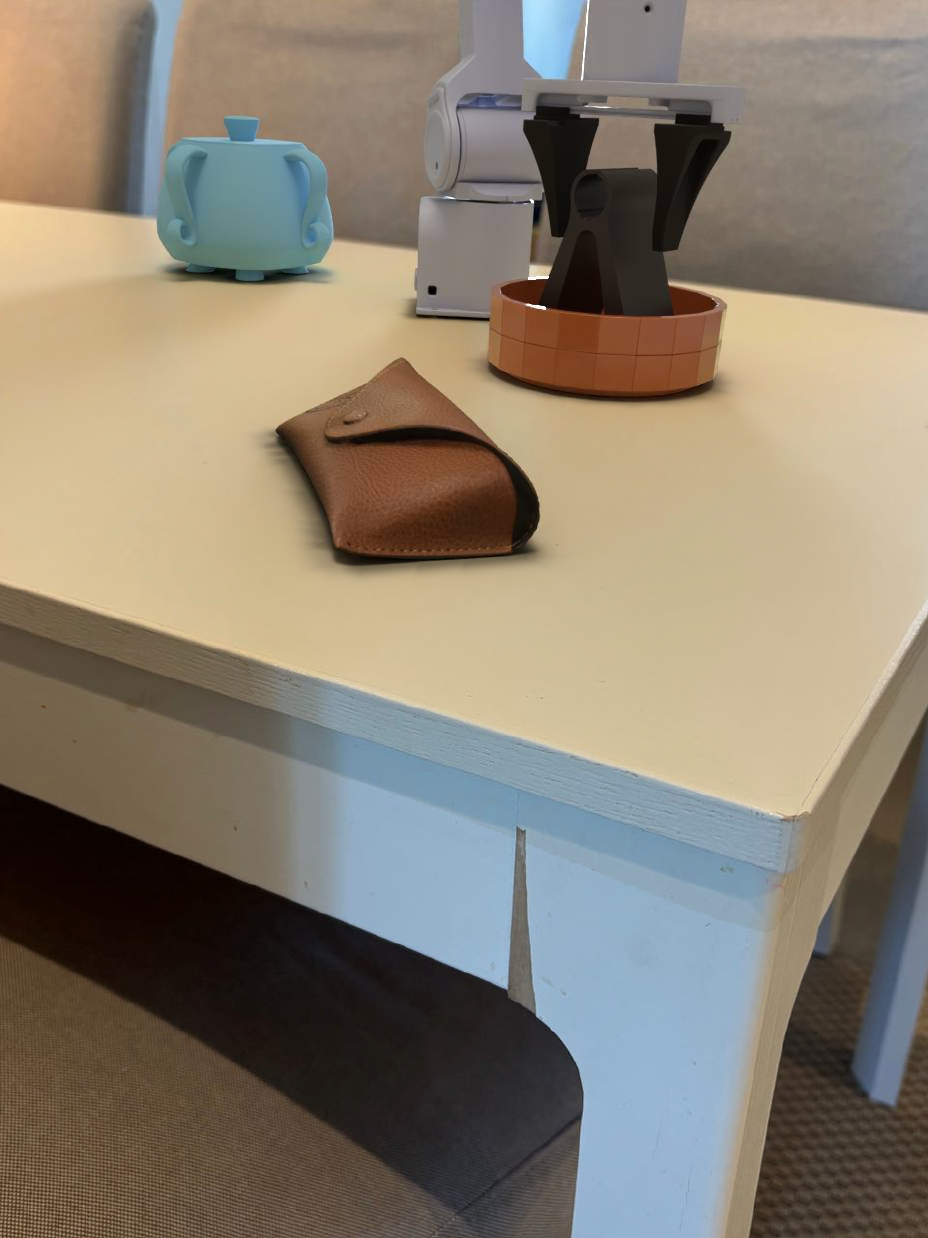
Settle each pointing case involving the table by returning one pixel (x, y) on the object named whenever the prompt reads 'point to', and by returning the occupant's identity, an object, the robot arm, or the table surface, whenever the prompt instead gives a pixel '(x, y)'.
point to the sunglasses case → (411, 473)
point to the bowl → (605, 343)
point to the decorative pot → (244, 203)
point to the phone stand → (610, 248)
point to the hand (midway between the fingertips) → (612, 243)
